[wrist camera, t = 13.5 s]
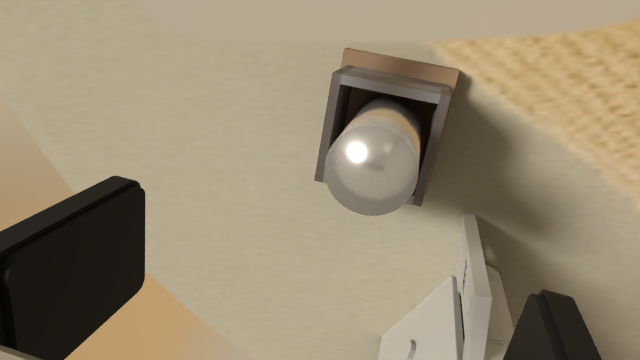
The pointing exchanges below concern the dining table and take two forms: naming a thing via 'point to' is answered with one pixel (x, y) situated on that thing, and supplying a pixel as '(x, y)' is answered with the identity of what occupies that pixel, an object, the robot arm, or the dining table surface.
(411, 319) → the hinge
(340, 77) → the open cube shadow box
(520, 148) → the dining table surface
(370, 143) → the hinge pin
